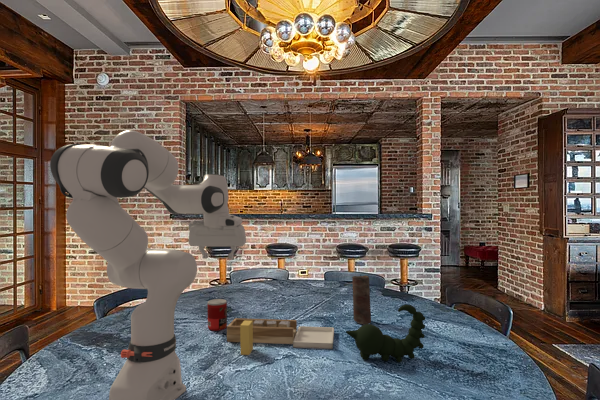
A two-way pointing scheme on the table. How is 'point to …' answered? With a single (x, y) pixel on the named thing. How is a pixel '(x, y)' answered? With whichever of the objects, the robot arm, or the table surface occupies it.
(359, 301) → the brown tall block
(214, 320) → the canned food
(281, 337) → the open wooden box
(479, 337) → the table surface
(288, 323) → the grey and brown cube
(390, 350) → the toy figurine
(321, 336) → the tray
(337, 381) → the table surface
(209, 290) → the table surface
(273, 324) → the grey piece
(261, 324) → the grey cubic block
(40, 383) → the table surface
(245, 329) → the block
